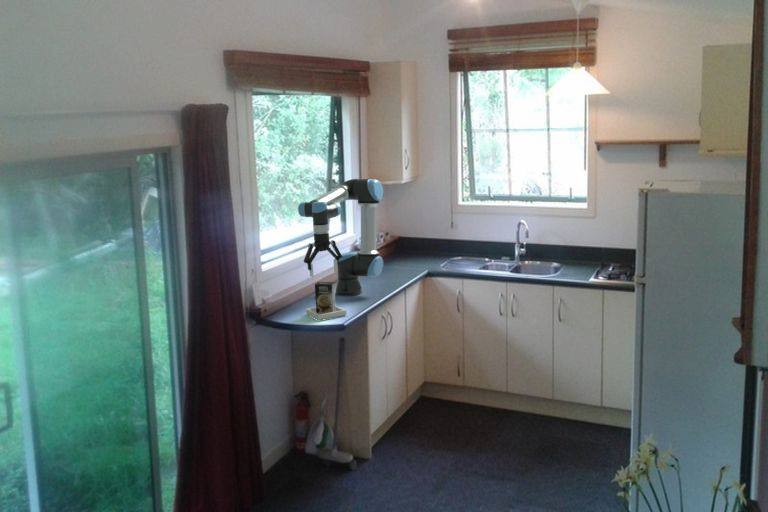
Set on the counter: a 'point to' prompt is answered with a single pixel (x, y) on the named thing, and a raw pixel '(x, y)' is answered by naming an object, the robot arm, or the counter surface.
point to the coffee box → (325, 297)
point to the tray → (317, 316)
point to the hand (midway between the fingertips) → (324, 274)
